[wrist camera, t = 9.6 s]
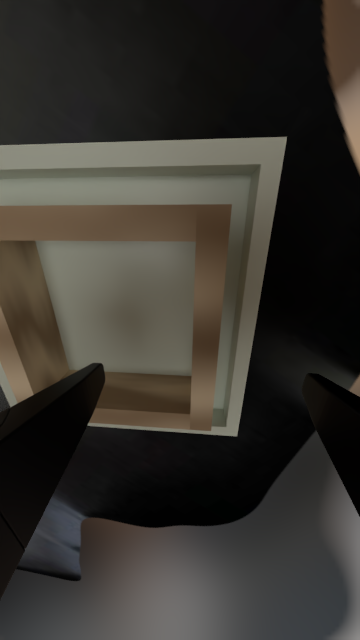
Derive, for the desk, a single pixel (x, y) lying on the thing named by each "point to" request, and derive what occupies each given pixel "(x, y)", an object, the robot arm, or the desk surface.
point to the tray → (151, 254)
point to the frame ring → (41, 326)
